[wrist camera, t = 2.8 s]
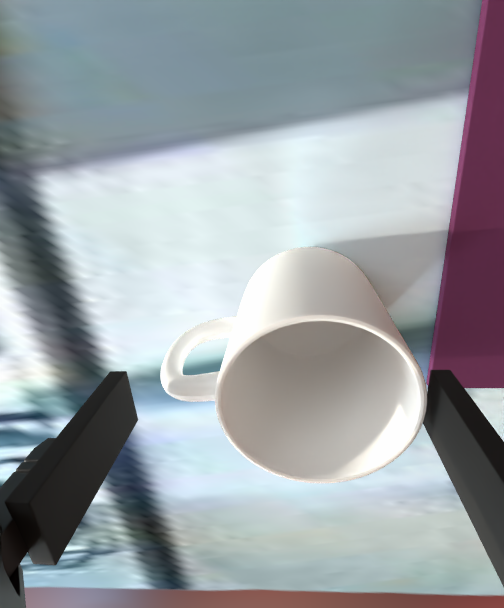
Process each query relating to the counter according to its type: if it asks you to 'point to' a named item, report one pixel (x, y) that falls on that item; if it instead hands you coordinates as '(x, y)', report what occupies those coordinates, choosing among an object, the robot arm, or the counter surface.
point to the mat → (477, 226)
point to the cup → (308, 372)
